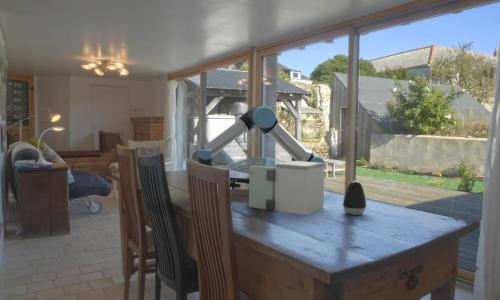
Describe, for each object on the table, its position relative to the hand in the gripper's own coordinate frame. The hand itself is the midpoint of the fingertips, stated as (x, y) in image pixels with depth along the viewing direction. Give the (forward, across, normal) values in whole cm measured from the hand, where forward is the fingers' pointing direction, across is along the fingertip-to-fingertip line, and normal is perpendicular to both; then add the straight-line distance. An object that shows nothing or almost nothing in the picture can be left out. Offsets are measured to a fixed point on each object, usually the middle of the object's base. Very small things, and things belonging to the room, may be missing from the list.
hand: (254, 184), depth 189 cm
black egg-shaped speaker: (+45, -14, -11) cm, 49 cm away
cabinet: (+20, -9, -11) cm, 25 cm away
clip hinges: (+10, 0, -11) cm, 15 cm away
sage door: (+4, 0, -11) cm, 12 cm away
